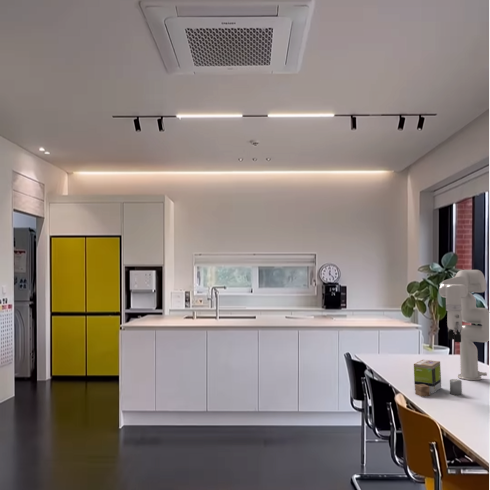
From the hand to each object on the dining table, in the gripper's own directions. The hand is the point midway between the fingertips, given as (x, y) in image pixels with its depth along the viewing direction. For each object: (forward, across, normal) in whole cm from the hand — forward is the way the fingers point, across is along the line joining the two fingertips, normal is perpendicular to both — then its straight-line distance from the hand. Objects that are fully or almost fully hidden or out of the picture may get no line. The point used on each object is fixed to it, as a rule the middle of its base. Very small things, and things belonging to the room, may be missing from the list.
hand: (454, 340), depth 243 cm
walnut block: (+28, -4, +18) cm, 33 cm away
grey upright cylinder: (+28, 0, 0) cm, 28 cm away
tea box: (+28, +8, +12) cm, 32 cm away
